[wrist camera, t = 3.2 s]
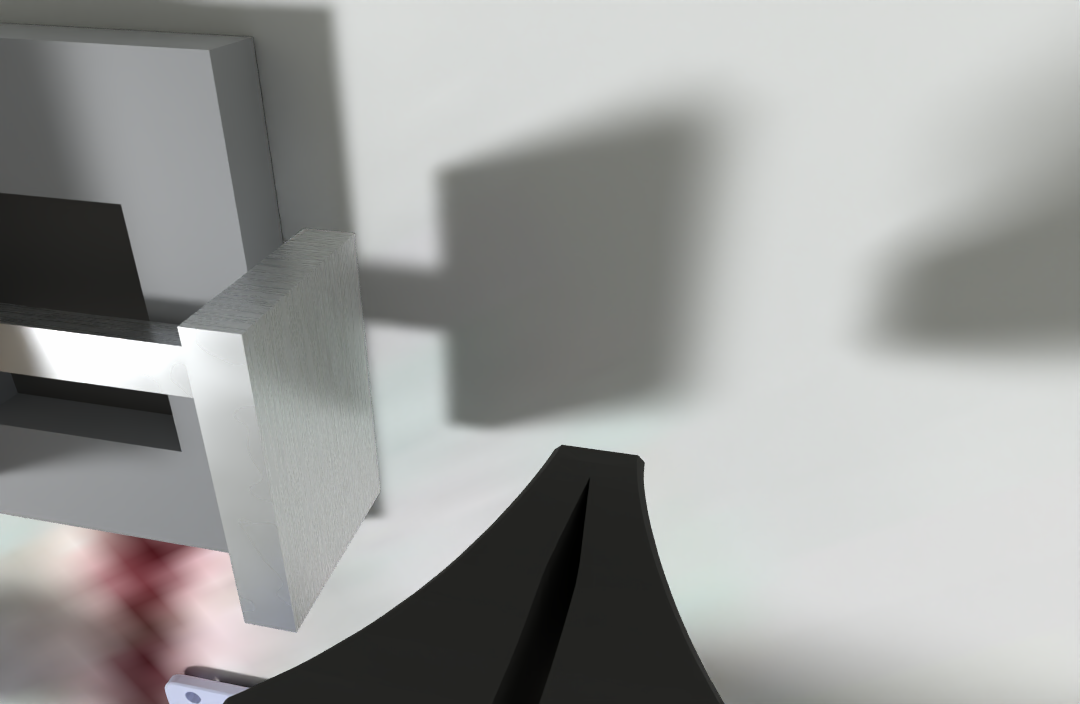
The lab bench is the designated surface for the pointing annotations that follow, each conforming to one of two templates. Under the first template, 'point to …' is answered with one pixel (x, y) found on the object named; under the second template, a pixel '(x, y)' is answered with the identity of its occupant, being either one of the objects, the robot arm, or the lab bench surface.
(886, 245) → the lab bench surface
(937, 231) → the lab bench surface
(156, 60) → the deck
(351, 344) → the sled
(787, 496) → the lab bench surface
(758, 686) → the lab bench surface
